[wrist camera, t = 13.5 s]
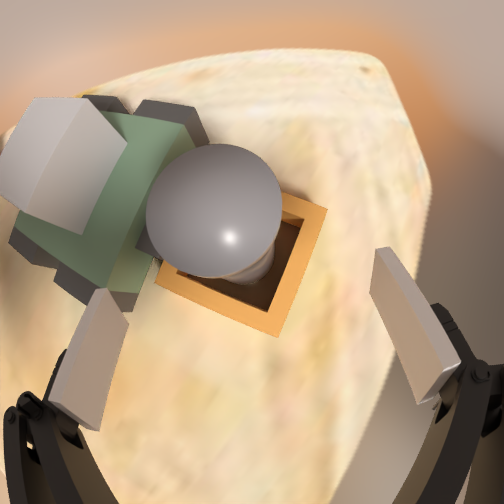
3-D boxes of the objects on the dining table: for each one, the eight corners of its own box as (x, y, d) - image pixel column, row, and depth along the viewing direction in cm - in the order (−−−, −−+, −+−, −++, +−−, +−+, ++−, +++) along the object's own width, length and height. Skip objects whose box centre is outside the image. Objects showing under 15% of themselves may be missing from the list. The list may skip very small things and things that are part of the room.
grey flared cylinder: (197, 272, 25) (125, 244, 12) (225, 209, 26) (182, 132, 13) (262, 300, 24) (248, 300, 11) (289, 233, 25) (302, 166, 12)
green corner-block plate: (41, 252, 27) (-37, 228, 14) (106, 120, 30) (53, 60, 17) (260, 373, 23) (243, 442, 10) (334, 182, 25) (373, 94, 13)
